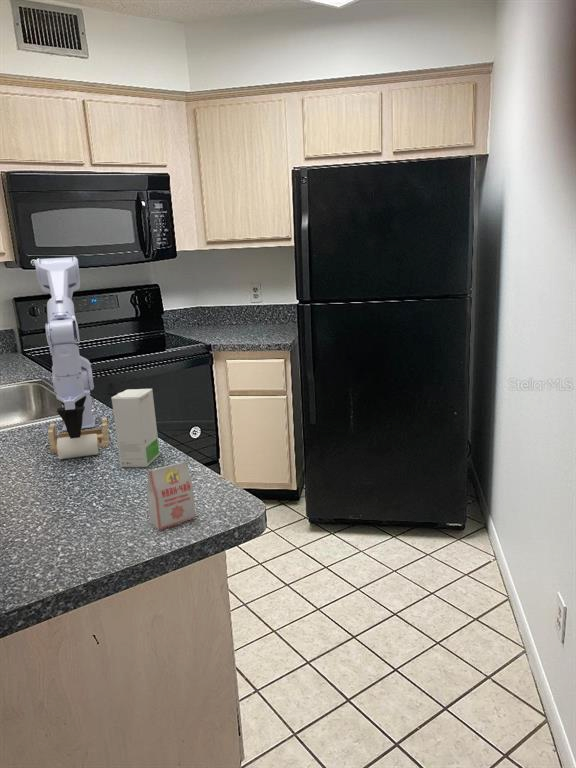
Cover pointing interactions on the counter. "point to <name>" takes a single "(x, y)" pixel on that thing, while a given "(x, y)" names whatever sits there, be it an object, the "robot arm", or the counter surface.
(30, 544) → the counter surface
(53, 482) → the counter surface
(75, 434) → the robot arm
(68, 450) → the paper roll
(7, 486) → the counter surface
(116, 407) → the skincare box
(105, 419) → the holder
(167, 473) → the tea bag
